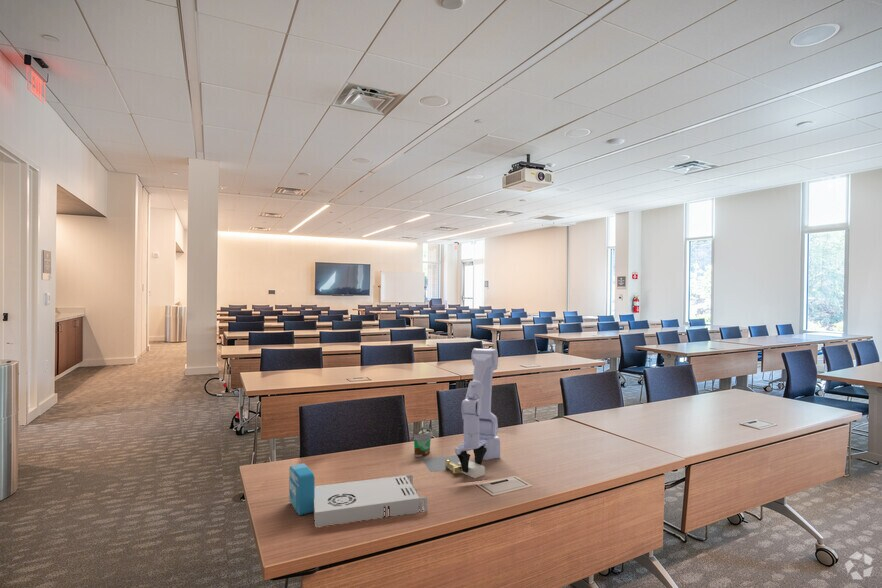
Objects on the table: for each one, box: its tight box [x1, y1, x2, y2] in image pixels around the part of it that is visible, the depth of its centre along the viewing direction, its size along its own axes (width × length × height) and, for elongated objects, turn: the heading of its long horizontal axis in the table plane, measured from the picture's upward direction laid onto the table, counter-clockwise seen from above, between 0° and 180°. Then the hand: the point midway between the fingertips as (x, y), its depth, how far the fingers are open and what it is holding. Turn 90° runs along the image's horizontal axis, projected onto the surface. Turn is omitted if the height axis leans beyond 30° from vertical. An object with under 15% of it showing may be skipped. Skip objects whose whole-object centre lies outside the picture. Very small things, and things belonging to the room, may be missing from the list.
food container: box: [413, 426, 433, 458], centre depth 190 cm, size 12×6×10 cm, turn 168°
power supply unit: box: [313, 474, 428, 528], centre depth 144 cm, size 19×33×5 cm, turn 107°
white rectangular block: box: [458, 460, 486, 479], centre depth 168 cm, size 5×9×4 cm, turn 40°
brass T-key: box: [445, 459, 462, 474], centre depth 170 cm, size 8×3×3 cm, turn 31°
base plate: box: [421, 454, 460, 473], centre depth 178 cm, size 16×14×1 cm
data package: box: [288, 463, 316, 516], centre depth 143 cm, size 12×4×12 cm, turn 32°
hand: (471, 469), depth 168 cm, fingers open, 6 cm apart
